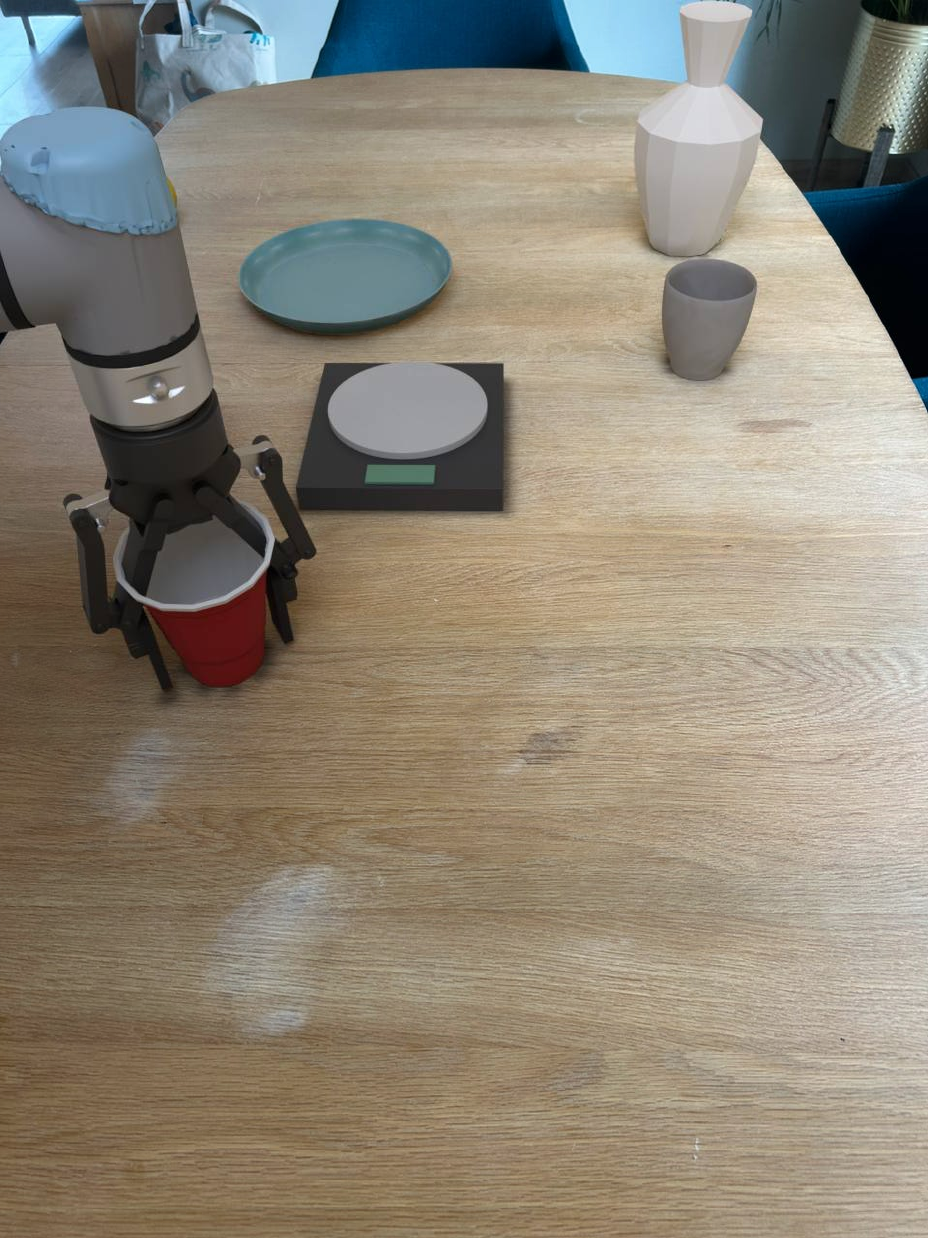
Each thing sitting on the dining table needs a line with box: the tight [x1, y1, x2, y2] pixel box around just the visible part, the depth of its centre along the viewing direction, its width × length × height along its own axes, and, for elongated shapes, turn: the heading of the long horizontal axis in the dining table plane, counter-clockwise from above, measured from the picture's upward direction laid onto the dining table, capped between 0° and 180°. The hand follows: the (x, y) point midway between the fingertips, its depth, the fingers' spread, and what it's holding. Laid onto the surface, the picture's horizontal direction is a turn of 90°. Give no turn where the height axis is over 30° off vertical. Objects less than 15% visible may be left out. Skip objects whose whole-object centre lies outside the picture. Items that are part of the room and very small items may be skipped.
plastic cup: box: [112, 496, 275, 688], centre depth 72 cm, size 11×11×12 cm
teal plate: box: [237, 218, 453, 336], centre depth 114 cm, size 24×24×3 cm
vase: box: [633, 0, 764, 258], centre depth 114 cm, size 14×14×25 cm
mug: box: [661, 258, 758, 382], centre depth 101 cm, size 12×9×10 cm
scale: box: [295, 361, 505, 512], centre depth 94 cm, size 18×20×3 cm
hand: (223, 653), depth 75 cm, fingers closed on plastic cup, 9 cm apart
